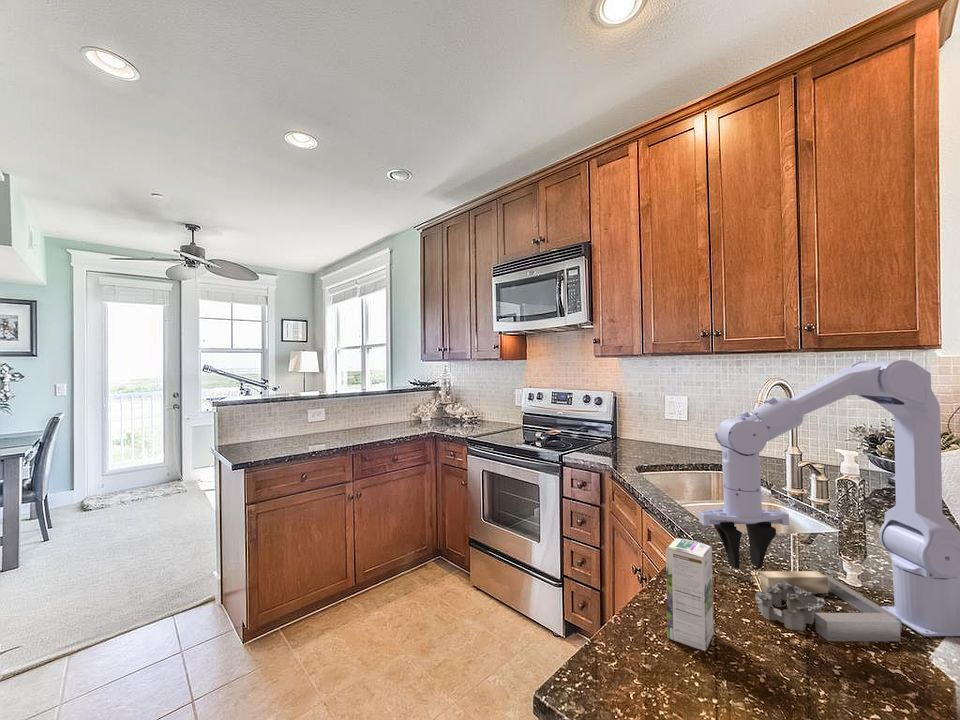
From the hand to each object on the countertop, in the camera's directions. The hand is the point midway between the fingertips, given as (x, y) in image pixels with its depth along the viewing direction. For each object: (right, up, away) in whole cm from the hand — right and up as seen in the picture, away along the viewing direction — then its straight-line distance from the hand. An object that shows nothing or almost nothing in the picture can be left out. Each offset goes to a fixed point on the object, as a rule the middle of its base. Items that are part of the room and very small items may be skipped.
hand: (745, 565), depth 75 cm
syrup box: (-13, -9, -6) cm, 17 cm away
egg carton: (+7, -9, 0) cm, 12 cm away
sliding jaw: (+14, -8, +7) cm, 18 cm away
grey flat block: (+15, -8, +1) cm, 17 cm away
